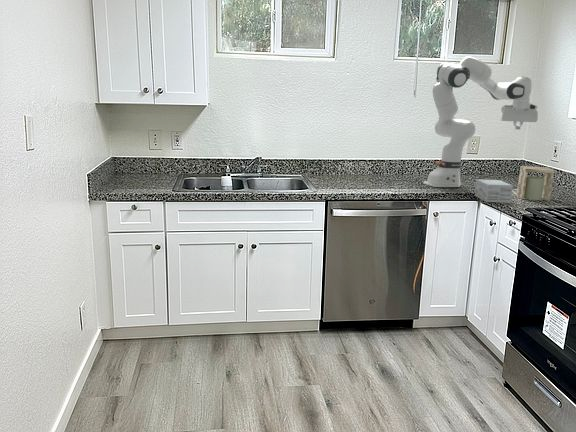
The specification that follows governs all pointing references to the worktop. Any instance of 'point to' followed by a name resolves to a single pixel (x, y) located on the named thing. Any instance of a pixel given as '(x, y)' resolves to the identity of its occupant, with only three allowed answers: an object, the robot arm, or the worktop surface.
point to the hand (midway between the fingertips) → (517, 129)
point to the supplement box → (493, 191)
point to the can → (534, 188)
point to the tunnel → (523, 177)
